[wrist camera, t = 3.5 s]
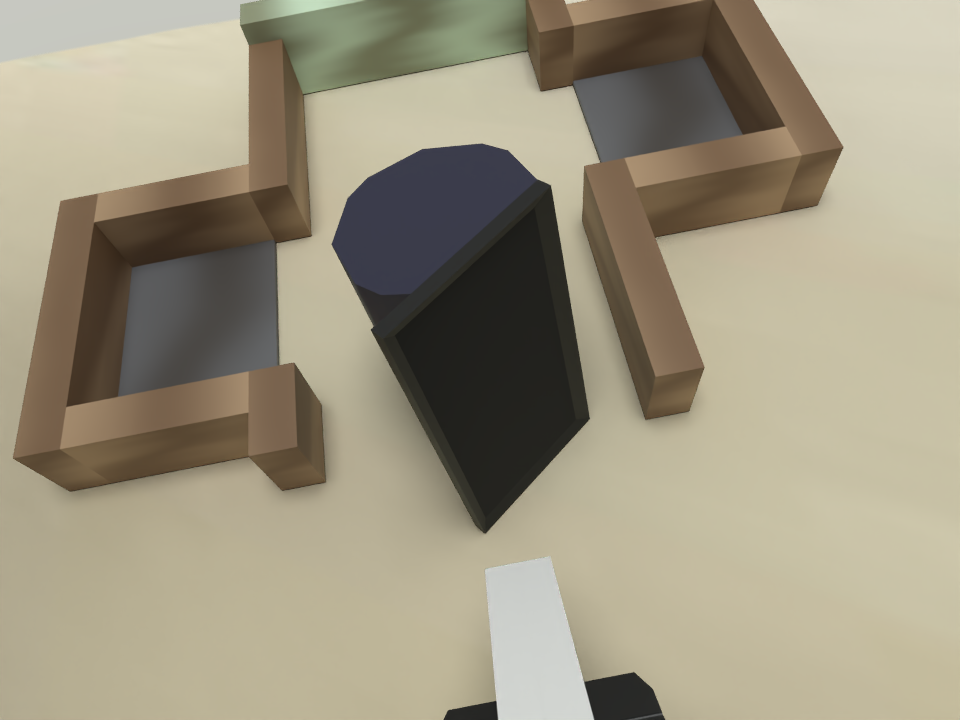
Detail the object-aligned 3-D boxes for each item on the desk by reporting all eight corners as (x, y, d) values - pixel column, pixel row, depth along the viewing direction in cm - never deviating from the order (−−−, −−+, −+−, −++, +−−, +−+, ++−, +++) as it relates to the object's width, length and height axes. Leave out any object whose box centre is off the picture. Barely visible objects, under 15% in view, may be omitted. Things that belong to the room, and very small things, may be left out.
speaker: (636, 451, 23) (632, 229, 15) (480, 537, 23) (383, 355, 14) (527, 300, 28) (475, 61, 19) (394, 368, 27) (280, 153, 19)
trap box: (64, 532, 24) (-19, 492, 21) (122, 109, 35) (74, 37, 32) (907, 368, 24) (965, 300, 21) (701, -4, 35) (717, -89, 32)
